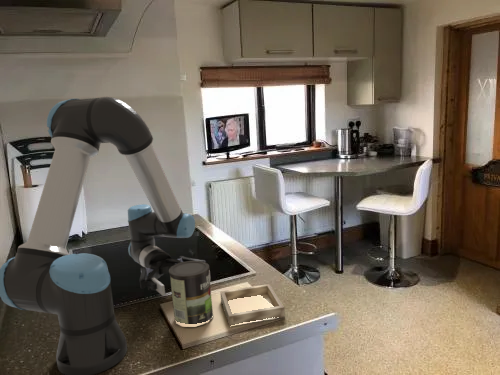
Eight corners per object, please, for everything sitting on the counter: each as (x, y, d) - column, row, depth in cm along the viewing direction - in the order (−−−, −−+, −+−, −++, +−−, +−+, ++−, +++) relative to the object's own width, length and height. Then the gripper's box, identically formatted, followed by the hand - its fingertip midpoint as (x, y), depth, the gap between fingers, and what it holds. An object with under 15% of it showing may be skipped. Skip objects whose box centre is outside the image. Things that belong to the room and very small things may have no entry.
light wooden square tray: (229, 327, 106) (229, 316, 105) (221, 301, 120) (220, 291, 119) (284, 317, 109) (284, 307, 108) (270, 293, 122) (269, 283, 122)
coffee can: (217, 309, 115) (213, 260, 112) (206, 329, 105) (202, 276, 102) (182, 307, 117) (177, 259, 114) (168, 327, 108) (162, 275, 105)
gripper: (192, 261, 138) (227, 282, 121) (117, 283, 124) (144, 310, 107) (190, 239, 137) (225, 257, 120) (114, 259, 123) (140, 283, 106)
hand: (187, 282), depth 113 cm, fingers open, 13 cm apart
